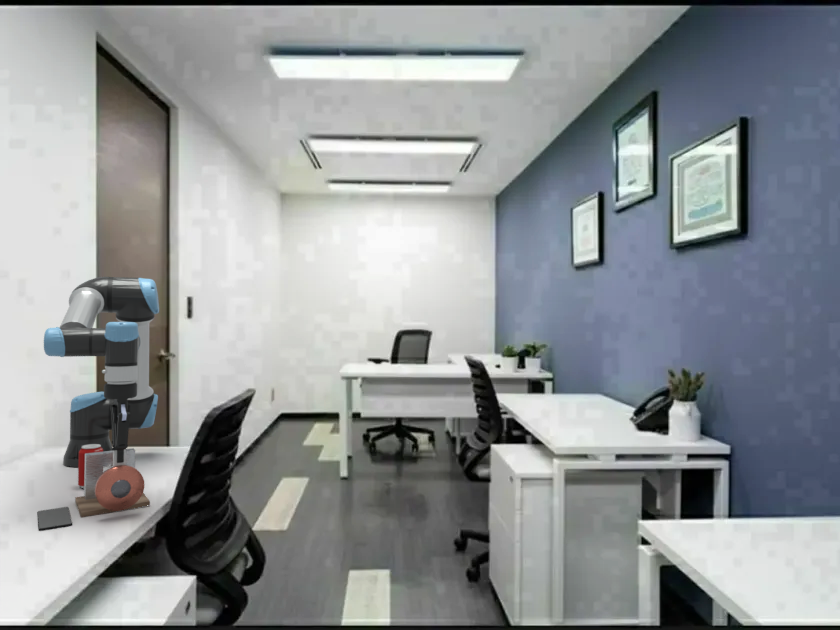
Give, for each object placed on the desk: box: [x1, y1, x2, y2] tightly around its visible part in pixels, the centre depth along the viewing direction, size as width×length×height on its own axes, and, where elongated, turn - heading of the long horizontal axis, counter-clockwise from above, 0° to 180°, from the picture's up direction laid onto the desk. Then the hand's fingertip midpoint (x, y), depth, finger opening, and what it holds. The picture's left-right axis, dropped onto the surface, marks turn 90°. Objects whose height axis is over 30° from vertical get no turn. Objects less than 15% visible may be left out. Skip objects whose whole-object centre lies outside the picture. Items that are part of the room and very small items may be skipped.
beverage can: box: [77, 444, 103, 490], centre depth 170 cm, size 6×6×12 cm
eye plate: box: [83, 447, 136, 500], centre depth 160 cm, size 3×12×13 cm, turn 126°
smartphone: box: [36, 506, 73, 532], centre depth 144 cm, size 7×1×15 cm
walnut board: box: [74, 492, 151, 518], centre depth 156 cm, size 14×16×1 cm
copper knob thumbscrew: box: [95, 465, 146, 512], centre depth 151 cm, size 16×11×11 cm
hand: (118, 474), depth 147 cm, fingers closed
